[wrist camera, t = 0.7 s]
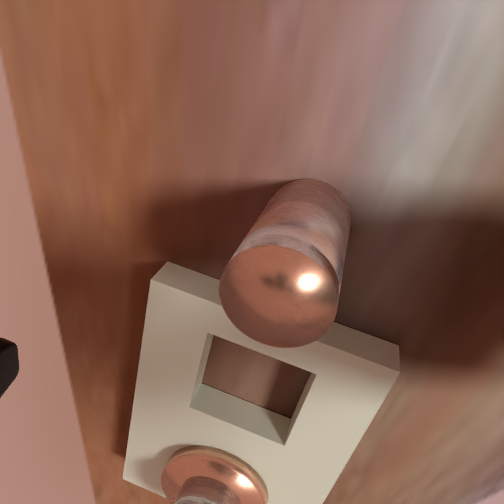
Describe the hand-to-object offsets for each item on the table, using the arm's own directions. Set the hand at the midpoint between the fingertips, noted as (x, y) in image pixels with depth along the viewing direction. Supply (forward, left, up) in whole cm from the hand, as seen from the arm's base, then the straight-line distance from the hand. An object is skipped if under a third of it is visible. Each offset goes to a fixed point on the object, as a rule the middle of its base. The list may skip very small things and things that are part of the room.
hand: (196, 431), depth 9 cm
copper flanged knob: (-1, +19, -11) cm, 22 cm away
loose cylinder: (-1, 0, -13) cm, 13 cm away
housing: (-1, +14, -13) cm, 19 cm away
